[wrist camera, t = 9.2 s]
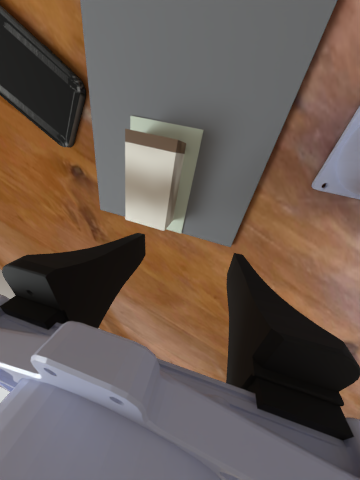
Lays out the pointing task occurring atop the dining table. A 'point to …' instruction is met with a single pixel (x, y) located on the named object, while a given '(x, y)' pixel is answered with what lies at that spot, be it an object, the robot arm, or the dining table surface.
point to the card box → (152, 178)
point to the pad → (189, 163)
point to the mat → (199, 90)
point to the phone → (39, 82)
